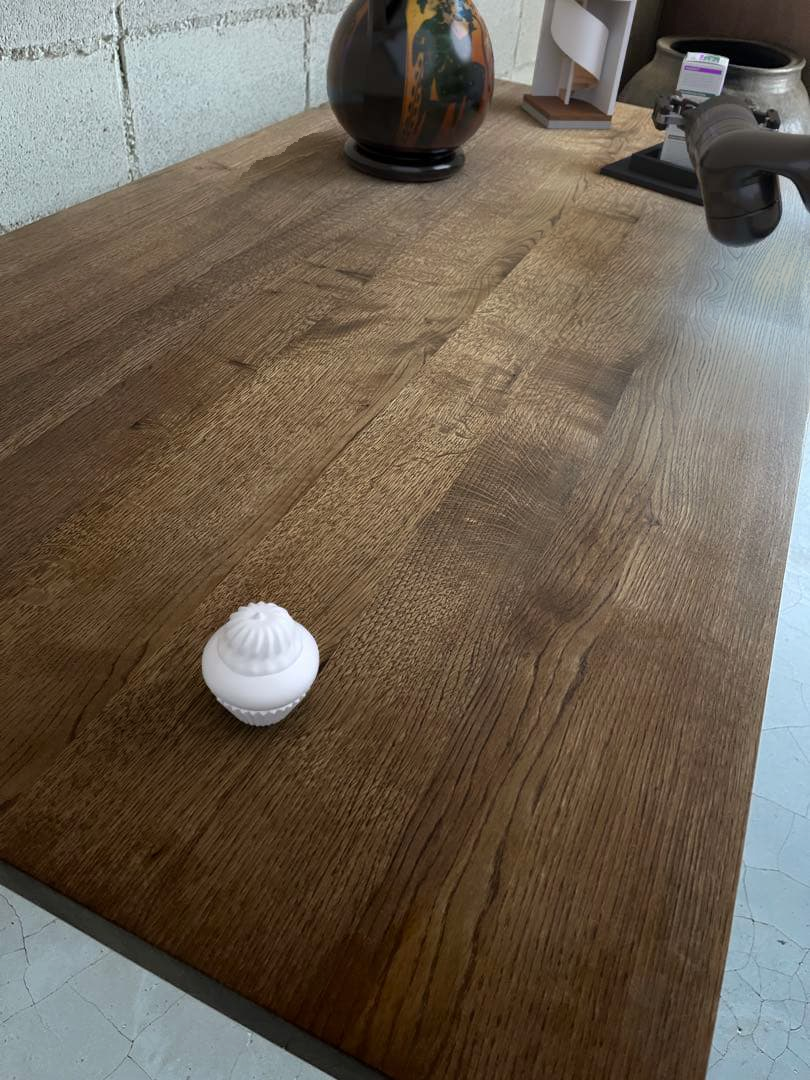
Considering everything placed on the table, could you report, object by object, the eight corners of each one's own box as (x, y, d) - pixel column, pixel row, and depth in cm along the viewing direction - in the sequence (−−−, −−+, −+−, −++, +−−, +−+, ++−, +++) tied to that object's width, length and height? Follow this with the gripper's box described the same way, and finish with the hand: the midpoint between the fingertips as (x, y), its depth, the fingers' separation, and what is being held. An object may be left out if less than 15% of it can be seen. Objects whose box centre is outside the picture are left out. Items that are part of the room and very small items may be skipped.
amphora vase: (432, 205, 113) (459, -66, 95) (290, 163, 120) (292, -95, 103) (510, 165, 127) (546, -76, 110) (379, 130, 135) (394, -101, 117)
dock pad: (752, 181, 131) (759, 160, 129) (705, 206, 121) (711, 184, 119) (652, 151, 138) (657, 132, 136) (599, 173, 128) (604, 152, 126)
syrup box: (697, 181, 126) (730, 65, 117) (654, 173, 127) (683, 57, 118) (700, 169, 130) (732, 56, 121) (659, 162, 131) (687, 49, 122)
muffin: (238, 767, 47) (233, 675, 43) (185, 690, 51) (175, 597, 46) (339, 717, 50) (345, 626, 46) (283, 647, 54) (282, 557, 49)
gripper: (800, 113, 98) (778, 77, 111) (667, 96, 99) (659, 63, 112) (777, 184, 103) (758, 142, 115) (649, 167, 104) (644, 127, 117)
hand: (709, 103), depth 114 cm, fingers open, 8 cm apart
